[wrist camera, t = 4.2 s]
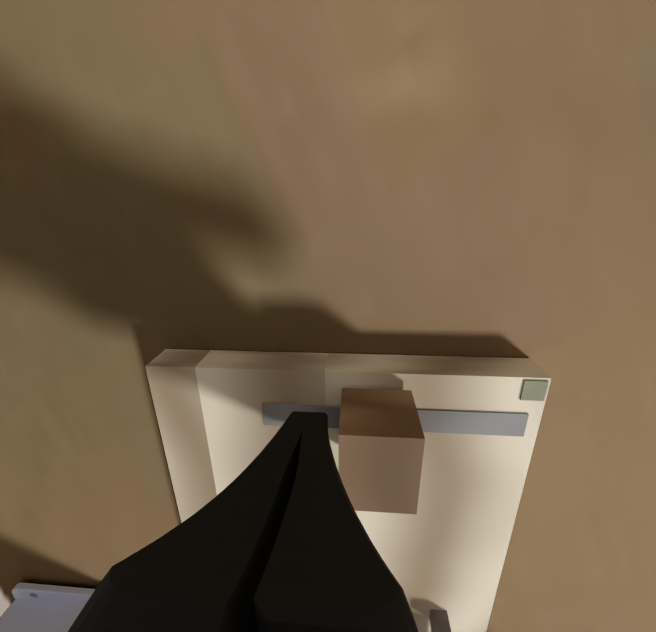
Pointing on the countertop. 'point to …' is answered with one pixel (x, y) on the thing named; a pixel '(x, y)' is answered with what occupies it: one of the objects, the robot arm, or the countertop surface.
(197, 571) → the robot arm
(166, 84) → the countertop surface
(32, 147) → the countertop surface
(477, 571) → the control panel
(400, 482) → the walnut slider
